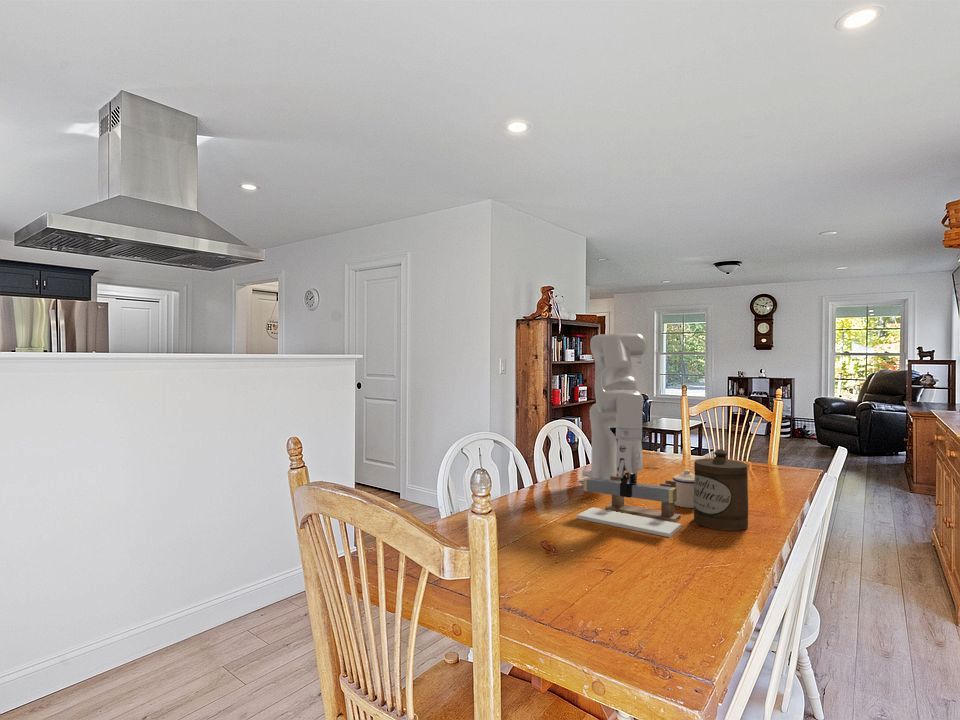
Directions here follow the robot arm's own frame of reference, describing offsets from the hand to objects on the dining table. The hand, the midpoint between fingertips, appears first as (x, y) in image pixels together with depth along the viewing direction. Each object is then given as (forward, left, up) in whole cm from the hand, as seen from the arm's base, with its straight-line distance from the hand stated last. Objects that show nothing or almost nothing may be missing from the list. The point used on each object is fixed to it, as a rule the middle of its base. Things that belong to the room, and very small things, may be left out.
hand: (628, 494), depth 160 cm
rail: (0, 0, 0) cm, 0 cm away
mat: (0, 0, -8) cm, 8 cm away
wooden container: (+22, +17, -9) cm, 29 cm away
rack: (0, +12, -8) cm, 15 cm away
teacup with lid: (+8, +33, -9) cm, 35 cm away
